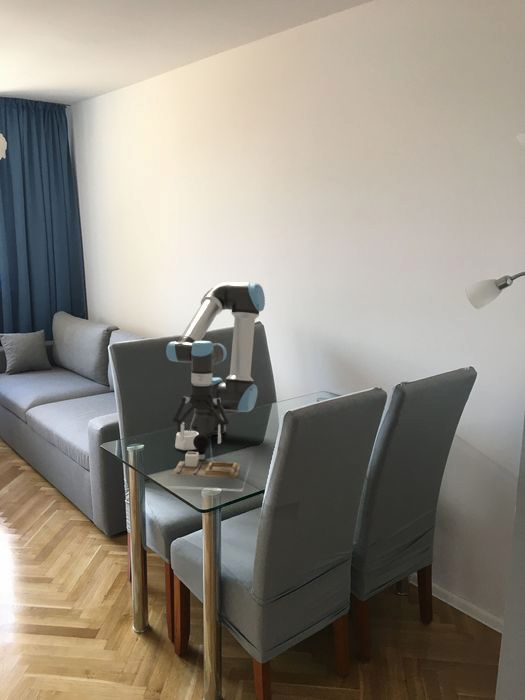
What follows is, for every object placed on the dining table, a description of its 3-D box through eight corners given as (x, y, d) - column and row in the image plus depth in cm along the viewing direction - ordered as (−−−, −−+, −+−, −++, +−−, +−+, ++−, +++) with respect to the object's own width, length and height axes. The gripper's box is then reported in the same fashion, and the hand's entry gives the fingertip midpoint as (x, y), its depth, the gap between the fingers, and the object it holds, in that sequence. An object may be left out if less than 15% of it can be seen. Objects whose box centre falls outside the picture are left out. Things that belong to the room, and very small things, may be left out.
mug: (179, 444, 238) (179, 429, 237) (202, 445, 237) (202, 430, 236) (170, 453, 226) (170, 437, 225) (195, 454, 225) (195, 439, 224)
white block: (187, 462, 213) (187, 450, 212) (198, 463, 212) (198, 450, 212) (185, 466, 209) (185, 453, 208) (196, 466, 208) (196, 454, 208)
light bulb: (190, 461, 216) (190, 435, 215) (197, 457, 222) (197, 431, 220) (204, 464, 214) (205, 437, 213) (212, 459, 220) (212, 433, 218)
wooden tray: (180, 463, 215) (180, 457, 214) (240, 466, 213) (240, 460, 213) (171, 476, 201) (171, 471, 200) (236, 479, 199) (236, 474, 199)
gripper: (165, 384, 211) (164, 442, 214) (235, 387, 209) (233, 446, 212) (169, 381, 219) (169, 437, 221) (237, 383, 217) (236, 440, 219)
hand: (200, 441), depth 217 cm, fingers open, 13 cm apart
